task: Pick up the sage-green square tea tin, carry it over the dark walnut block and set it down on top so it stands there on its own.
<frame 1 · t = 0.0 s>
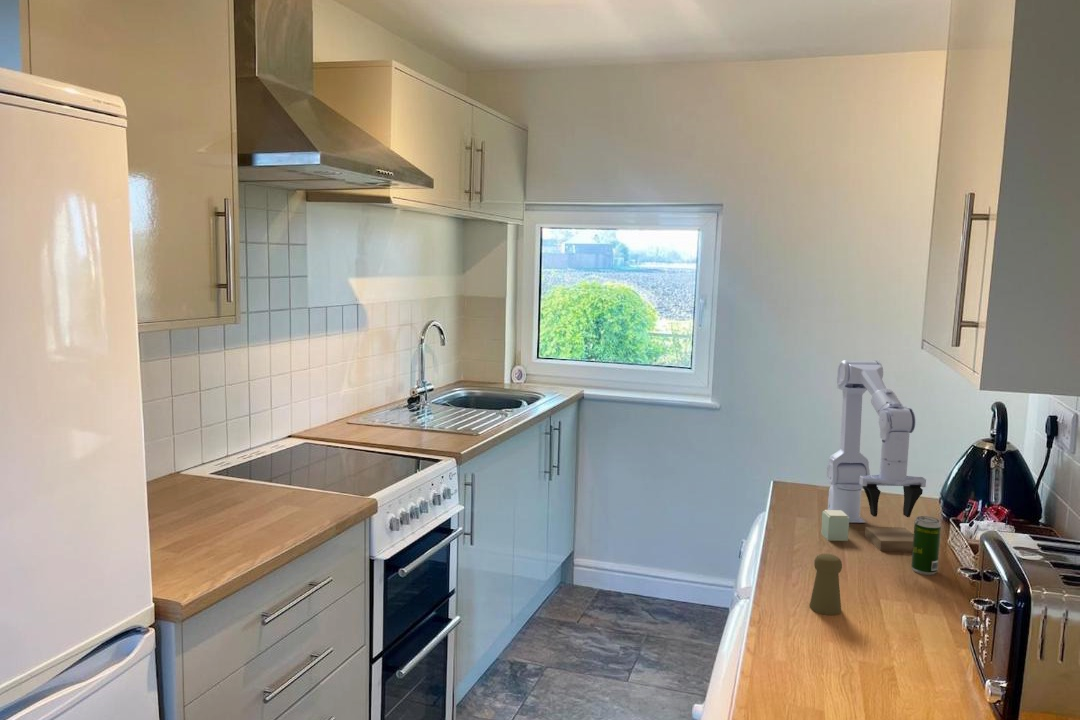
hand: (890, 515, 184), 10 cm above the counter, fingers open, 7 cm apart
tea tin: (834, 537, 198), on the counter
olive pepper mill: (825, 609, 157), on the counter
beer can: (924, 571, 177), on the counter
walnut block: (892, 545, 194), on the counter
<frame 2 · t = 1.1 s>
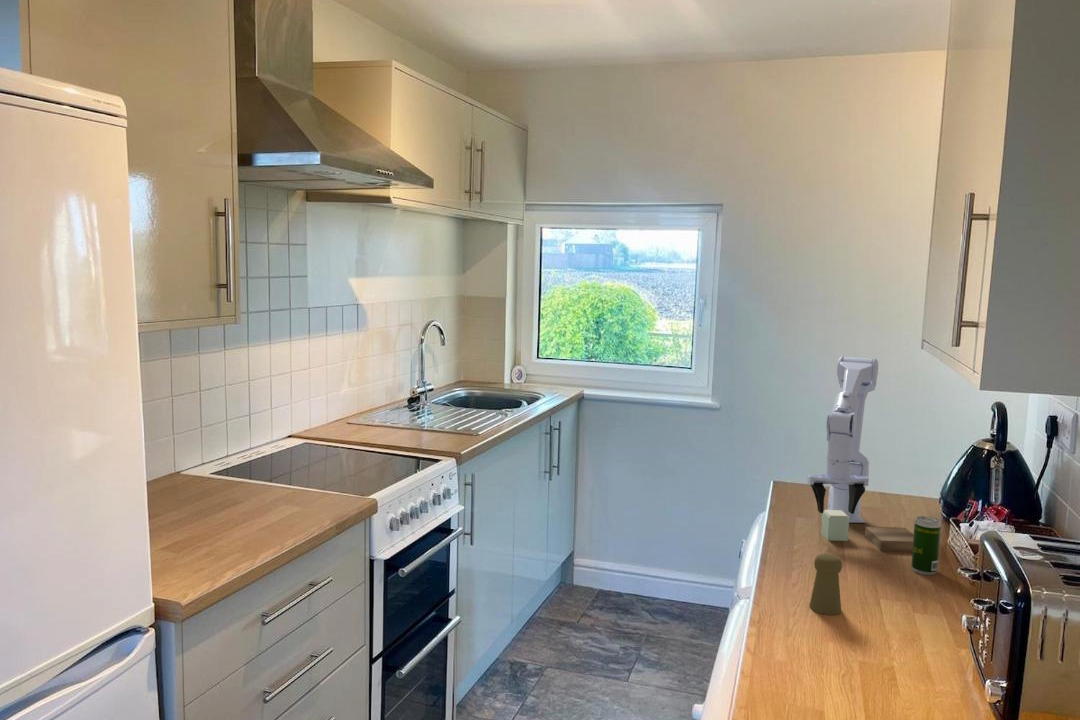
hand: (835, 512, 197), 7 cm above the counter, fingers open, 7 cm apart
nothing on the counter moved.
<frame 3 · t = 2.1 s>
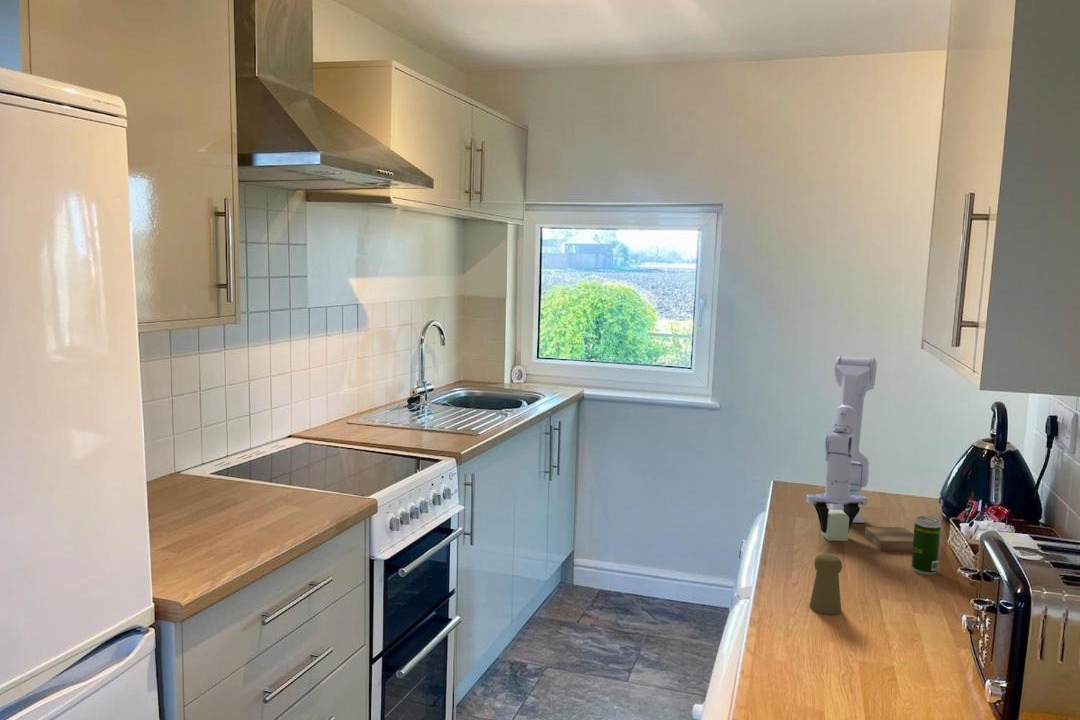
hand: (834, 531, 198), 1 cm above the counter, fingers closed on tea tin, 5 cm apart
tea tin: (834, 537, 198), on the counter, touching gripper
everything else where it was.
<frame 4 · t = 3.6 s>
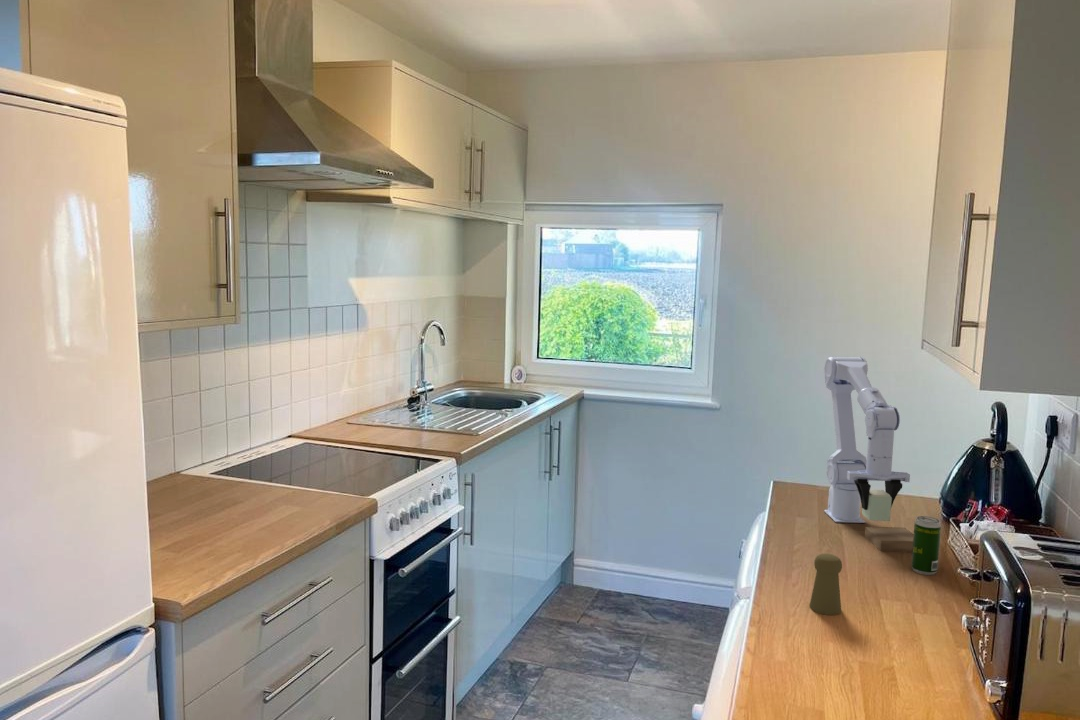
hand: (876, 508, 194), 8 cm above the counter, fingers closed on tea tin, 5 cm apart
tea tin: (875, 517, 194), point 6 cm above the counter, touching gripper
everything else where it was.
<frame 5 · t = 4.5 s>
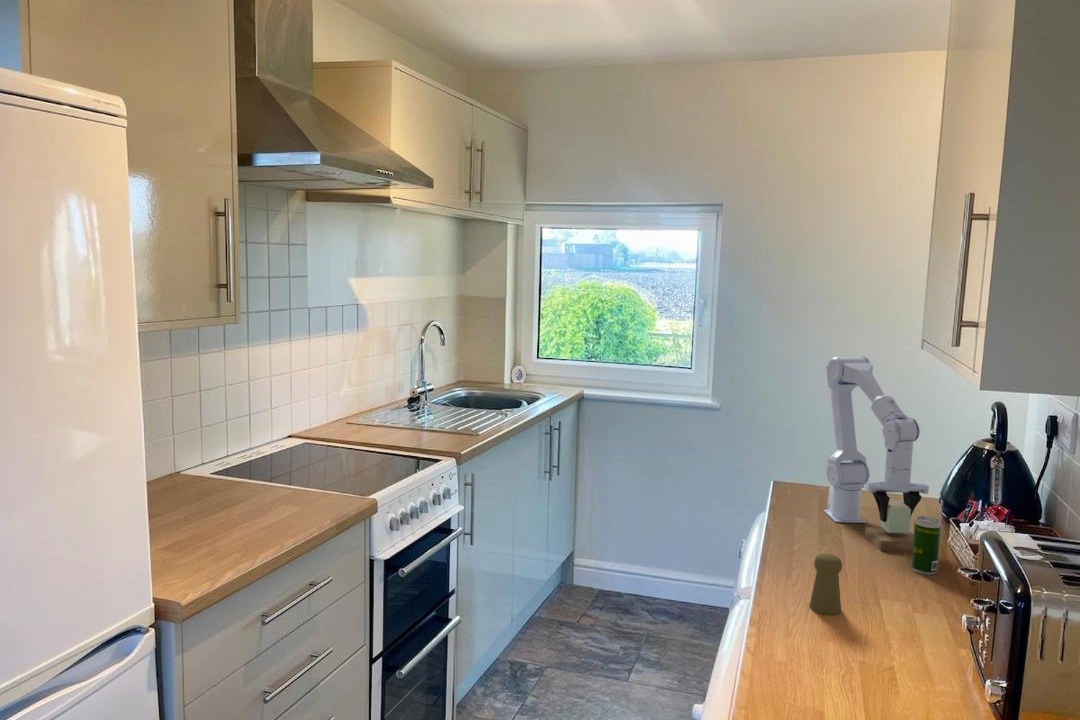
hand: (894, 520, 193), 6 cm above the counter, fingers closed on tea tin, 5 cm apart
tea tin: (894, 529, 193), point 4 cm above the counter, touching gripper
everything else where it was.
when the fingers open (5 cm above the counter, at t = 5.1 s): tea tin stays where it is, resting on walnut block.
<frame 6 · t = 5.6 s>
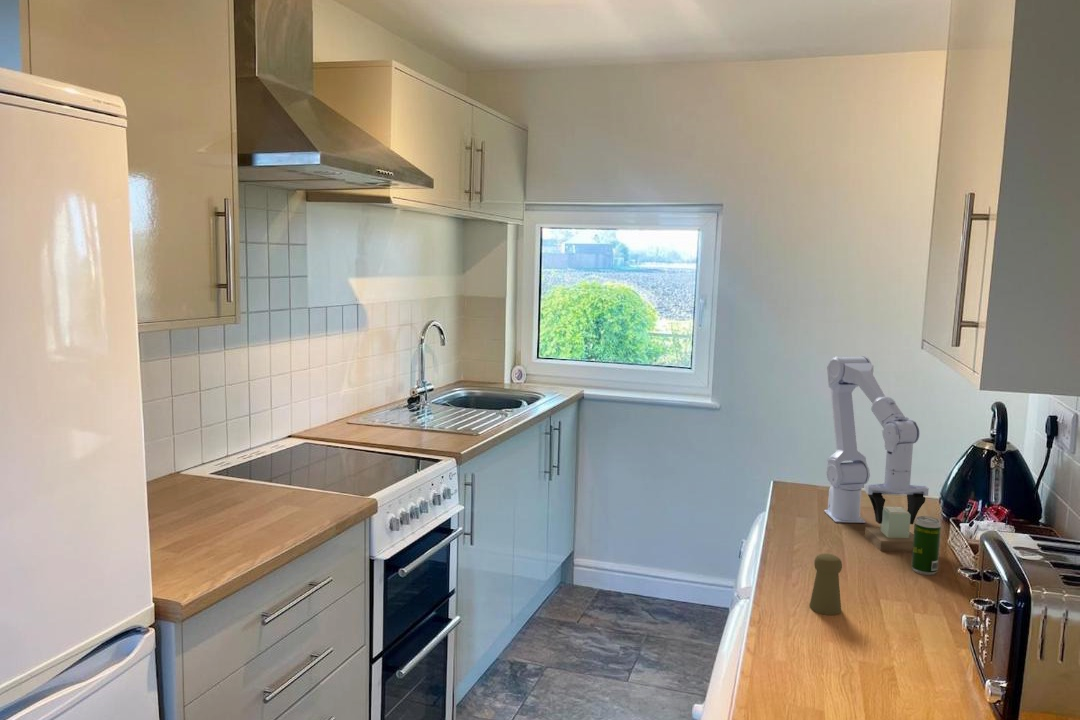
hand: (894, 522, 193), 5 cm above the counter, fingers open, 7 cm apart
tea tin: (894, 534, 193), point 2 cm above the counter, touching walnut block
walnut block: (892, 546, 194), on the counter, touching tea tin
everything else where it was.
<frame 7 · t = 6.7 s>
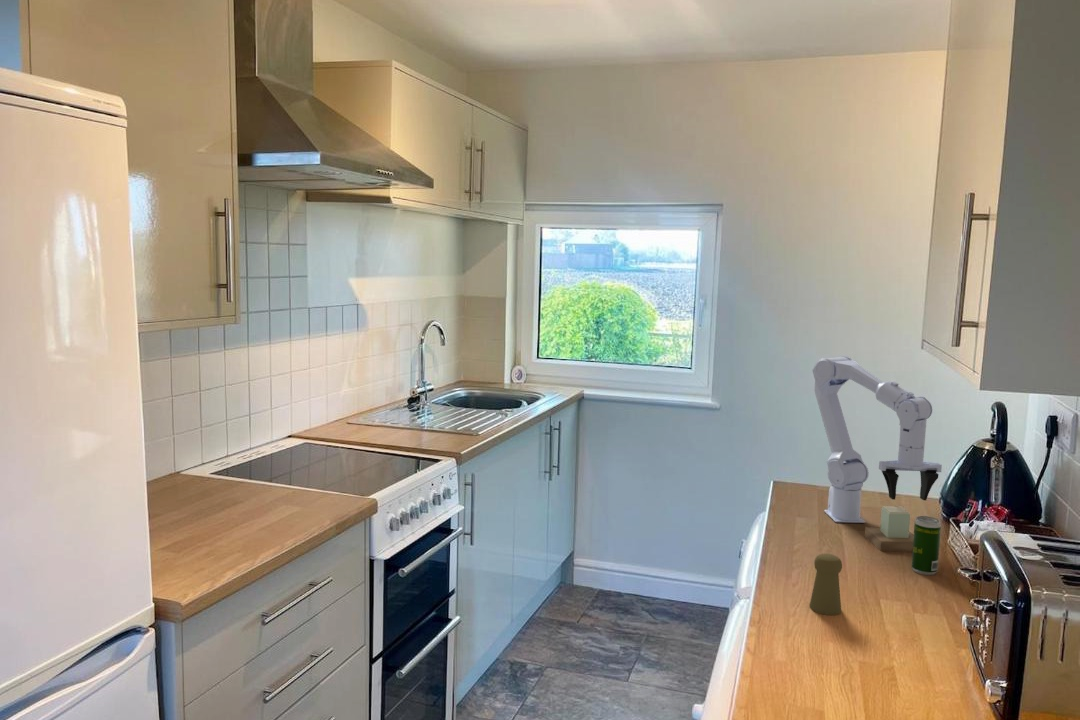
hand: (907, 498, 196), 10 cm above the counter, fingers open, 7 cm apart
nothing on the counter moved.
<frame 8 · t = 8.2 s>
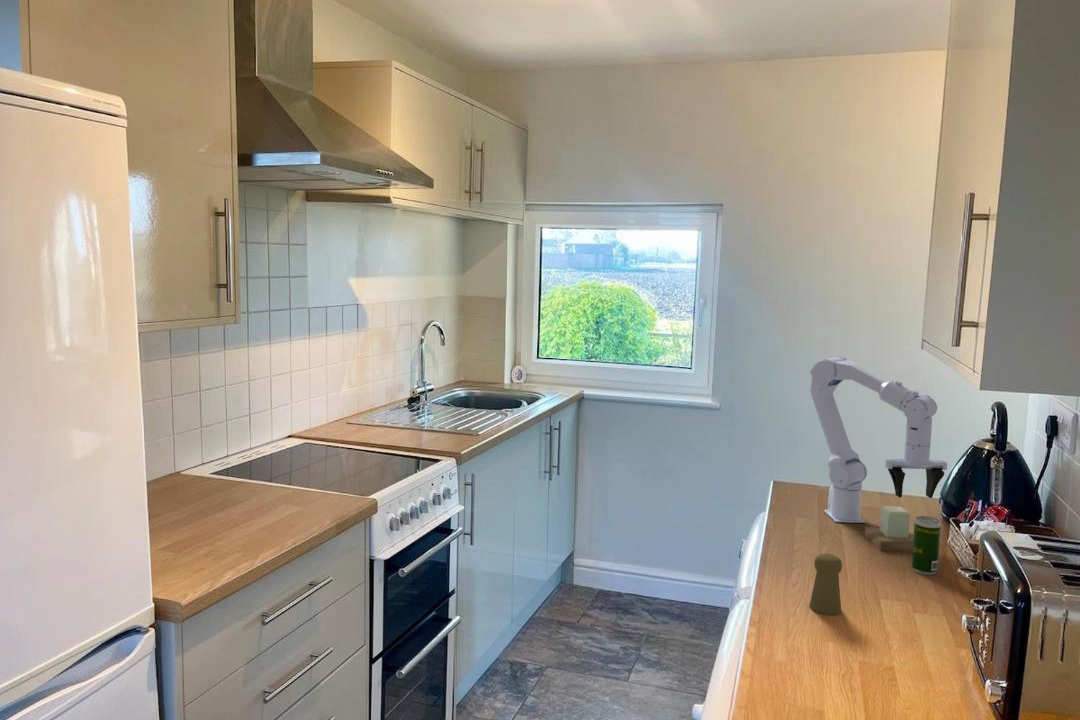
hand: (913, 496, 198), 10 cm above the counter, fingers open, 7 cm apart
nothing on the counter moved.
at the end: tea tin inside the target area on the walnut block (0.2 cm from its centre), point 3.0 cm above the walnut block's base; tea tin tilted 1°; the gripper is holding nothing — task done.
